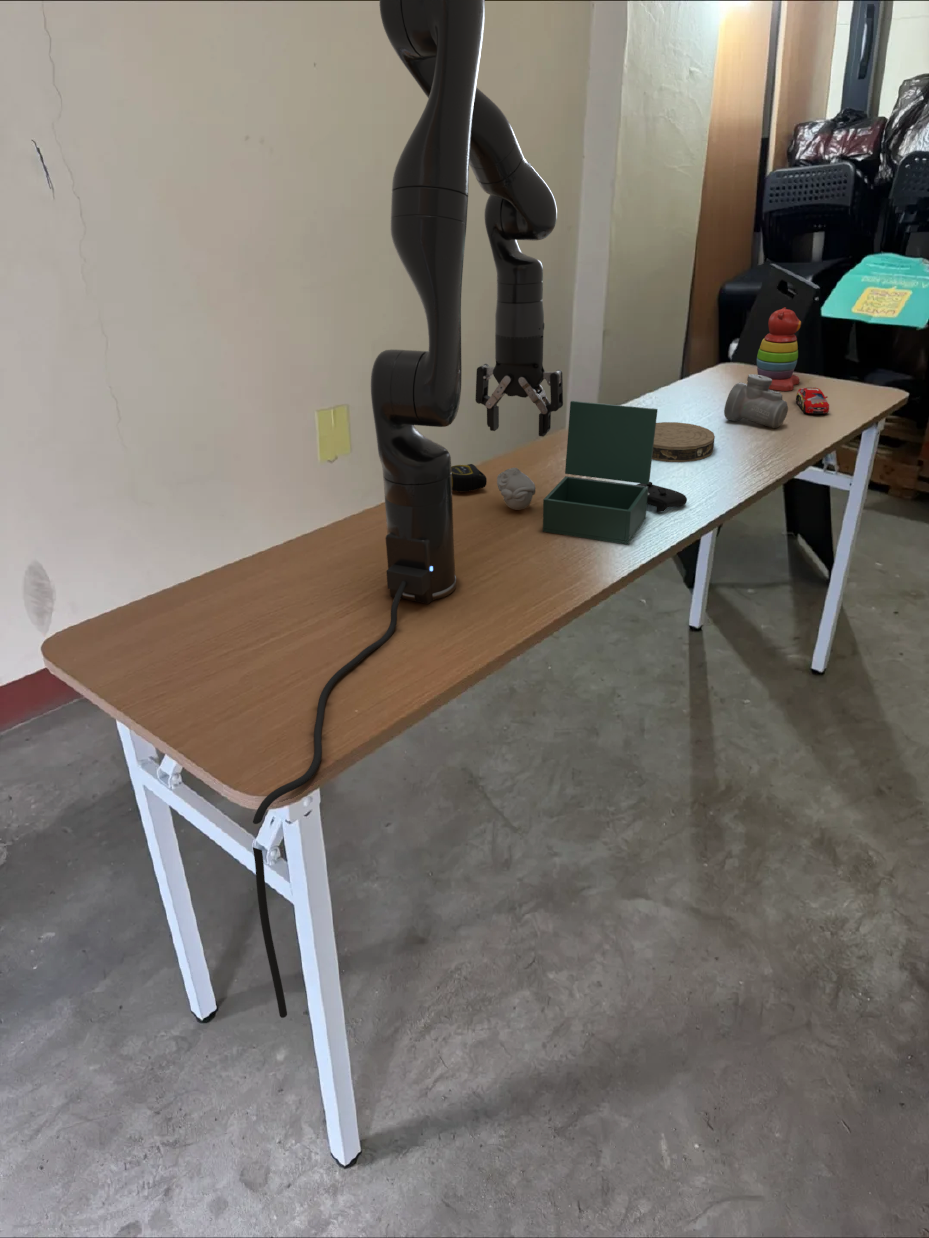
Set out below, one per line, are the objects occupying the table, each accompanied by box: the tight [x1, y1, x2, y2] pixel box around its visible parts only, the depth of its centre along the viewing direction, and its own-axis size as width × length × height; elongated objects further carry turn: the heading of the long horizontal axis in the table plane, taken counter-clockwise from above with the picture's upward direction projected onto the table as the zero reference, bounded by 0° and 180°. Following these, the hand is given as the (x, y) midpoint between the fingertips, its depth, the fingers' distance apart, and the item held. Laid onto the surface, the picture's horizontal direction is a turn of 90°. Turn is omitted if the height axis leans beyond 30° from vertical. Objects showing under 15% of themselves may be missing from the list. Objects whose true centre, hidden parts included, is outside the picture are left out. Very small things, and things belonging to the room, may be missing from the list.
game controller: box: [636, 481, 688, 513], centre depth 148 cm, size 10×5×6 cm
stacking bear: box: [756, 307, 802, 392], centre depth 209 cm, size 11×10×18 cm
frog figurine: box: [496, 467, 536, 511], centre depth 147 cm, size 6×7×7 cm
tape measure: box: [451, 463, 488, 493], centre depth 157 cm, size 7×7×4 cm
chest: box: [542, 475, 648, 545], centre depth 141 cm, size 11×14×6 cm
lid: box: [564, 400, 658, 484], centre depth 141 cm, size 12×14×1 cm
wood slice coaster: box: [652, 421, 716, 463], centre depth 173 cm, size 16×16×3 cm
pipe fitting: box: [723, 373, 789, 429], centre depth 184 cm, size 12×8×10 cm
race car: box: [795, 387, 830, 415], centre depth 194 cm, size 13×5×4 cm, turn 171°
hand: (518, 432), depth 142 cm, fingers open, 8 cm apart
